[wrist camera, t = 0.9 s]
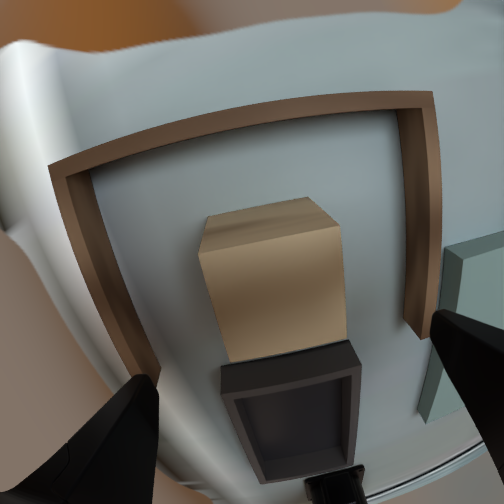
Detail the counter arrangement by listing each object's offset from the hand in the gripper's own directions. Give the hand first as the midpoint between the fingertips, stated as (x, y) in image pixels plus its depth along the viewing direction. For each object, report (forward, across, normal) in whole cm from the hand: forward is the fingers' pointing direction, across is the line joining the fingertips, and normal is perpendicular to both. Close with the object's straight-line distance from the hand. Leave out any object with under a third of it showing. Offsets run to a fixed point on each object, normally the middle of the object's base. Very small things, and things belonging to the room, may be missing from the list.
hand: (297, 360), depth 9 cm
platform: (+8, -17, +10) cm, 21 cm away
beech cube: (+8, 0, 0) cm, 8 cm away
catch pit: (+8, 0, +13) cm, 16 cm away
